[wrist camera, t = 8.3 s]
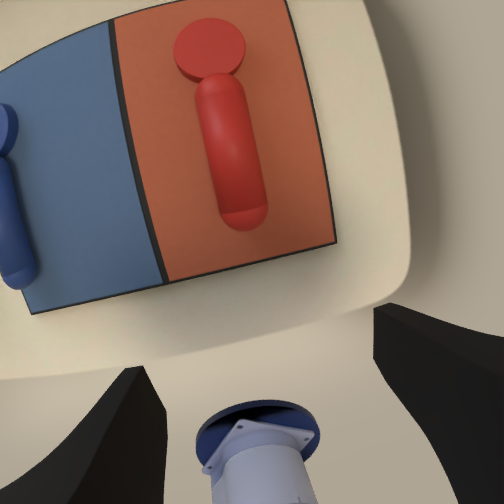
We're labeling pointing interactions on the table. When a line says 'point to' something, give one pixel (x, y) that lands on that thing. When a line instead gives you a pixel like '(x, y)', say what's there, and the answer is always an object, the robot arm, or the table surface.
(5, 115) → the blue spoon
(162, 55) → the sorting mat
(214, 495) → the robot arm
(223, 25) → the red spoon
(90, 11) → the table surface
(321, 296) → the table surface
